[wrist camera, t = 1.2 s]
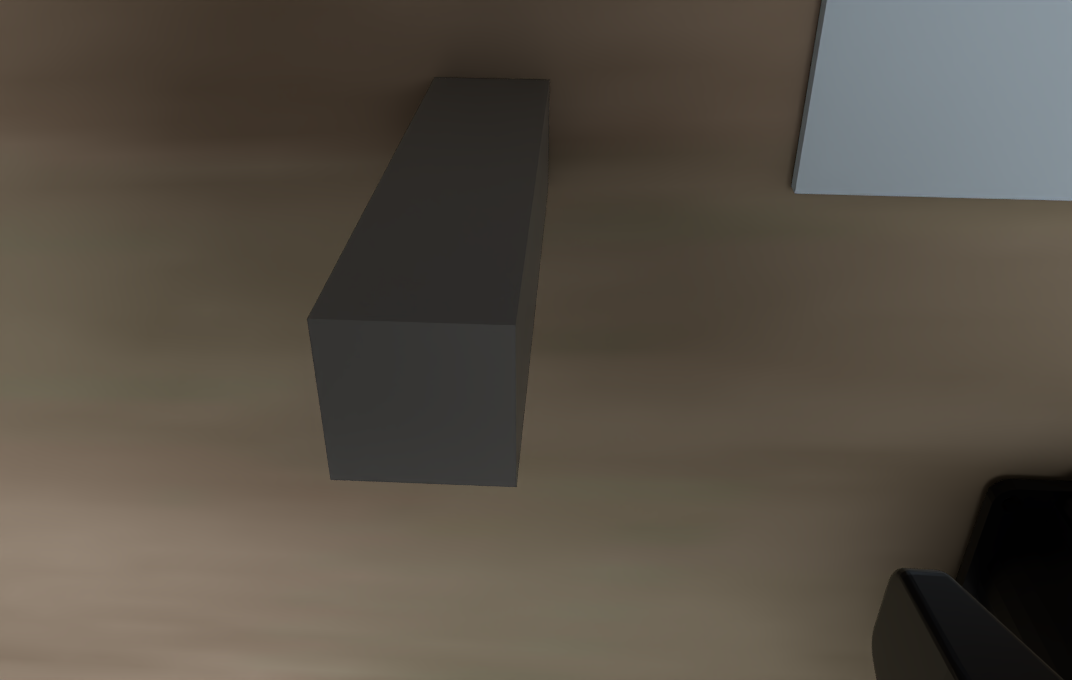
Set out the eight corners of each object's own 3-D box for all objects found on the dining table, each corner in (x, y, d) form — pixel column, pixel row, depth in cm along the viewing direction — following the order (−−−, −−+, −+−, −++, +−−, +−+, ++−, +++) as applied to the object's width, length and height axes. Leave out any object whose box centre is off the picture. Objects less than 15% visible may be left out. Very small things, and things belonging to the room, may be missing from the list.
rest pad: (1120, 194, 19) (1130, 202, 19) (791, 186, 20) (794, 193, 19) (1259, -182, 16) (1274, -181, 15) (851, -185, 16) (857, -185, 16)
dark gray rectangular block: (547, 188, 20) (516, 487, 12) (440, 185, 20) (331, 479, 12) (549, 79, 19) (515, 325, 10) (434, 77, 19) (307, 319, 10)
